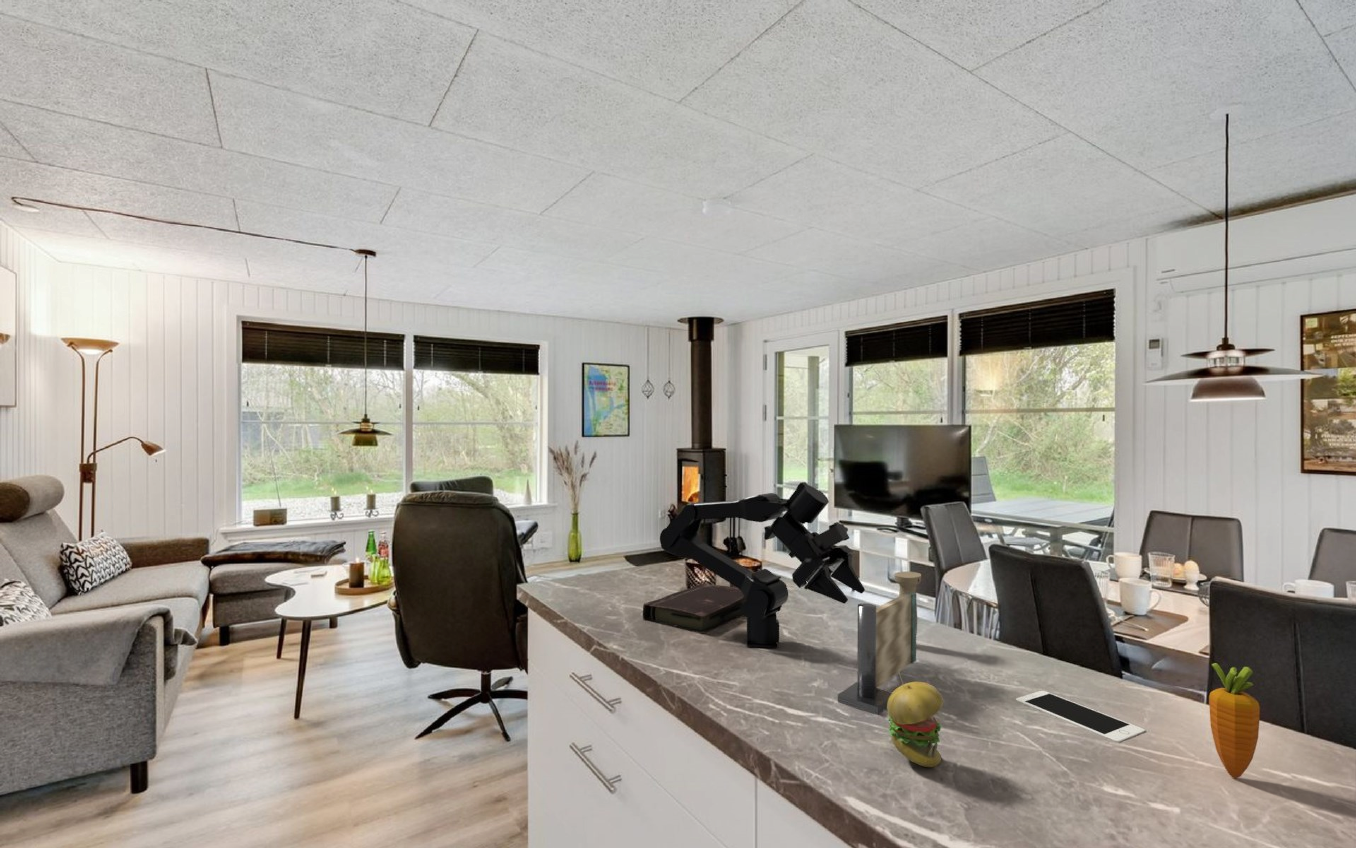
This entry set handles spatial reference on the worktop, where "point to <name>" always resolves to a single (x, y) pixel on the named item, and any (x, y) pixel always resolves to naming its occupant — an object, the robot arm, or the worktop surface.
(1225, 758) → the carrot
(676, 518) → the robot arm
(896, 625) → the gate
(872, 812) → the worktop surface
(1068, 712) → the cell phone
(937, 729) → the hamburger
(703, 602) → the diary
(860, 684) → the hinge post
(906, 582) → the handle
